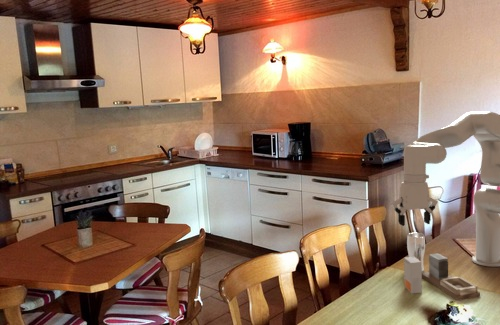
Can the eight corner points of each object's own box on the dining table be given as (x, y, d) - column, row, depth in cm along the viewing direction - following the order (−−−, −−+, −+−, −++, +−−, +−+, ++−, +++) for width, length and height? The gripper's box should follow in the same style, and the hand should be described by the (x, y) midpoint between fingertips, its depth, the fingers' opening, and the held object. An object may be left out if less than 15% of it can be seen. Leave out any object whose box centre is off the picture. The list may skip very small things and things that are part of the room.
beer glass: (426, 272, 180) (426, 237, 178) (408, 272, 181) (408, 237, 179) (423, 266, 187) (423, 232, 185) (406, 266, 188) (405, 232, 186)
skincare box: (404, 287, 168) (403, 257, 167) (414, 286, 168) (414, 256, 167) (411, 294, 162) (410, 262, 161) (422, 292, 162) (422, 261, 161)
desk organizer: (439, 273, 179) (439, 250, 178) (480, 296, 157) (480, 270, 155) (419, 276, 177) (419, 253, 176) (457, 300, 155) (457, 274, 154)
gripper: (431, 175, 166) (431, 220, 168) (387, 178, 165) (387, 223, 167) (442, 178, 159) (441, 225, 161) (396, 181, 157) (396, 228, 159)
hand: (414, 224), depth 164 cm, fingers open, 9 cm apart
